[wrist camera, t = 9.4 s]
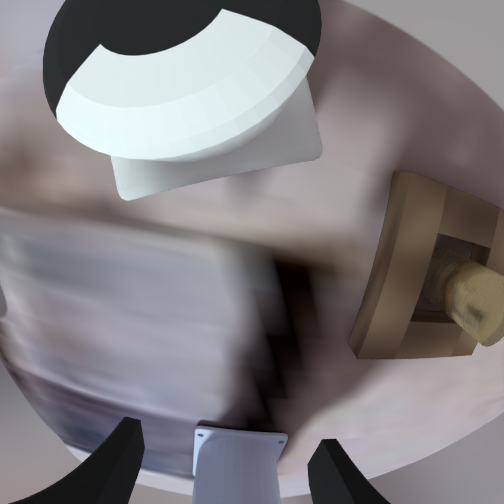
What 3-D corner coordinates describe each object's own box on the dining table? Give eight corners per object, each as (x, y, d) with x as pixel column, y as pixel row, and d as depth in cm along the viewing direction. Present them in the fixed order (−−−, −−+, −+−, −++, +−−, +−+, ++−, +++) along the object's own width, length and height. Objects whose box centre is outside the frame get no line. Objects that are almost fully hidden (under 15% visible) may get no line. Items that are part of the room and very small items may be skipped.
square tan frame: (459, 343, 20) (471, 354, 18) (348, 342, 19) (357, 358, 17) (502, 213, 17) (518, 217, 15) (394, 170, 16) (410, 171, 14)
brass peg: (448, 300, 18) (503, 344, 12) (412, 297, 18) (468, 348, 11) (463, 251, 17) (527, 284, 11) (427, 244, 17) (495, 279, 10)
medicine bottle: (148, 77, 14) (23, -22, 2) (266, 50, 14) (300, -103, 2) (169, 189, 16) (24, 237, 4) (292, 163, 16) (405, 150, 4)
